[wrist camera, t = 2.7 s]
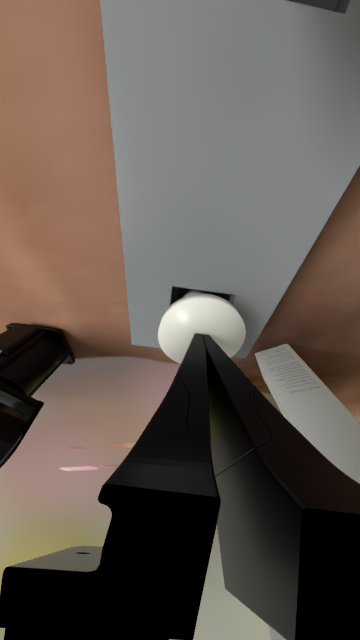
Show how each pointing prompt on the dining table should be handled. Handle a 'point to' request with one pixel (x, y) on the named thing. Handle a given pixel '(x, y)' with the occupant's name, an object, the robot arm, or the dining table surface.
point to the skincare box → (312, 408)
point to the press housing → (228, 145)
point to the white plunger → (200, 323)
